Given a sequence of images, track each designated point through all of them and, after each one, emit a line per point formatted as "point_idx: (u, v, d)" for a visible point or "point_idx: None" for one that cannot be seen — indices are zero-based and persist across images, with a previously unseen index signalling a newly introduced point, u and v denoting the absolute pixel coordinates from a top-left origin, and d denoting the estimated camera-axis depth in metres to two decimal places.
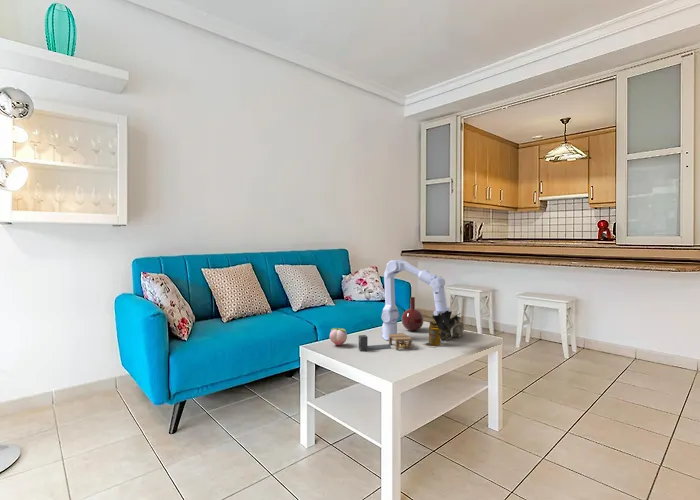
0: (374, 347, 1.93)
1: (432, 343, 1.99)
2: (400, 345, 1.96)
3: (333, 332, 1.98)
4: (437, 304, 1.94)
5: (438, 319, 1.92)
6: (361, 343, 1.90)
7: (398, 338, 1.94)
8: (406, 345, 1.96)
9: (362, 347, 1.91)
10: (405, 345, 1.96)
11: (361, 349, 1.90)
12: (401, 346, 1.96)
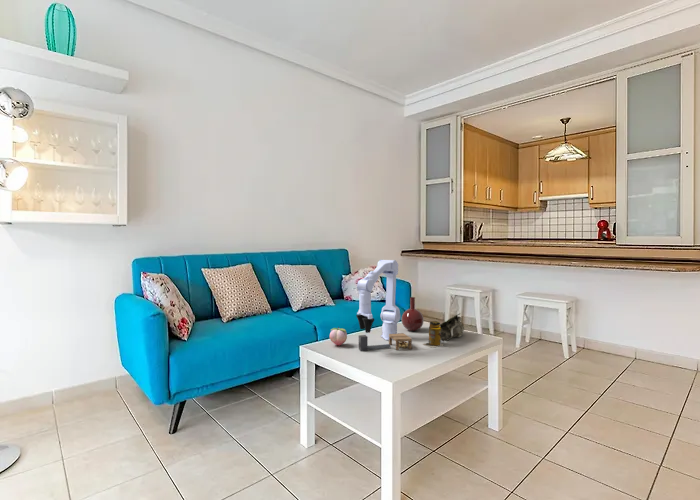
0: (374, 347, 1.93)
1: (432, 343, 1.99)
2: (400, 345, 1.96)
3: (333, 332, 1.98)
4: None
5: None
6: (361, 343, 1.90)
7: (398, 338, 1.94)
8: (406, 345, 1.96)
9: (362, 347, 1.91)
10: (405, 345, 1.96)
11: (361, 349, 1.90)
12: (401, 346, 1.96)
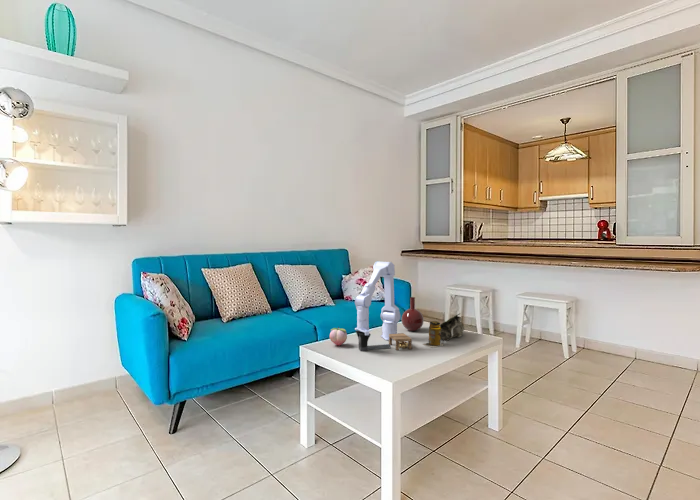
0: (374, 347, 1.93)
1: (432, 343, 1.99)
2: (400, 345, 1.96)
3: (333, 332, 1.98)
4: None
5: None
6: None
7: (398, 338, 1.94)
8: (406, 345, 1.96)
9: None
10: (405, 345, 1.96)
11: (361, 349, 1.90)
12: (401, 346, 1.96)
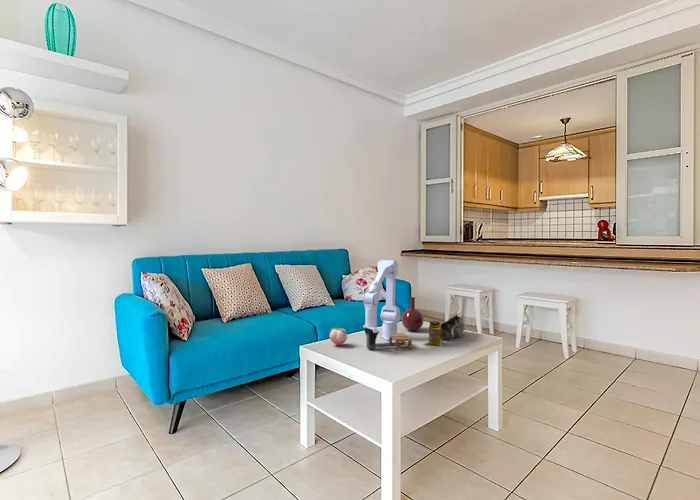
0: (382, 345, 1.95)
1: (432, 343, 1.99)
2: (400, 345, 1.96)
3: (333, 332, 1.98)
4: None
5: None
6: (369, 341, 1.91)
7: (398, 338, 1.94)
8: (406, 345, 1.96)
9: (370, 345, 1.92)
10: (405, 345, 1.96)
11: (369, 347, 1.92)
12: (401, 346, 1.96)
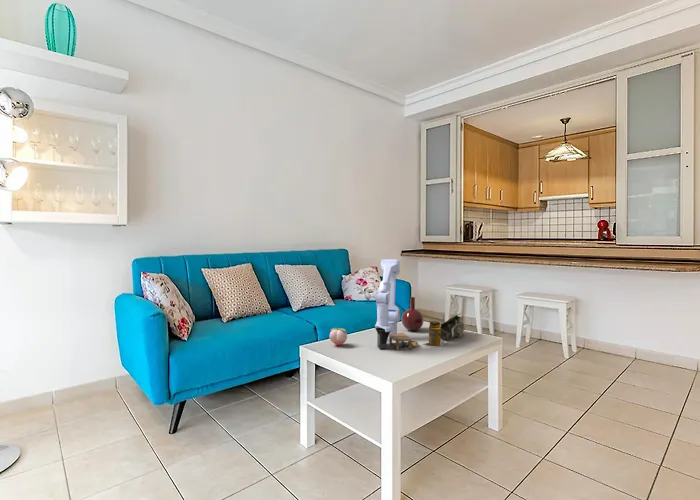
0: (393, 345, 1.96)
1: (432, 343, 1.99)
2: None
3: (333, 332, 1.98)
4: None
5: None
6: (380, 341, 1.93)
7: (398, 338, 1.94)
8: (416, 344, 1.97)
9: (381, 345, 1.93)
10: (415, 344, 1.97)
11: (380, 347, 1.93)
12: None
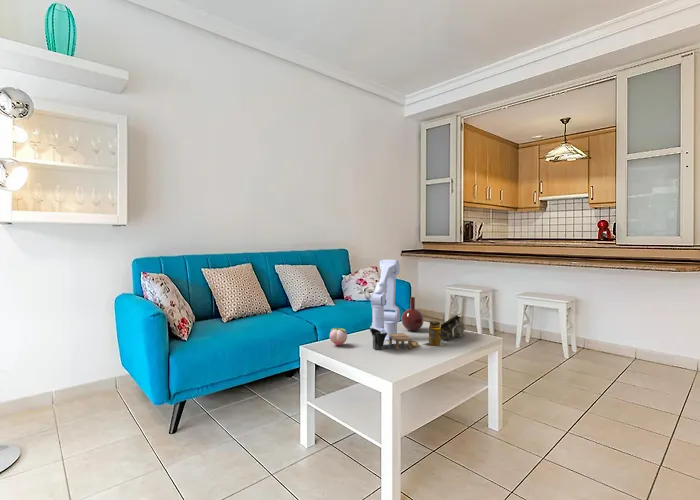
0: (388, 346, 1.95)
1: (432, 343, 1.99)
2: None
3: (333, 332, 1.98)
4: None
5: None
6: (375, 342, 1.92)
7: (398, 338, 1.94)
8: (416, 344, 1.97)
9: (376, 346, 1.92)
10: (415, 344, 1.97)
11: (375, 348, 1.92)
12: None
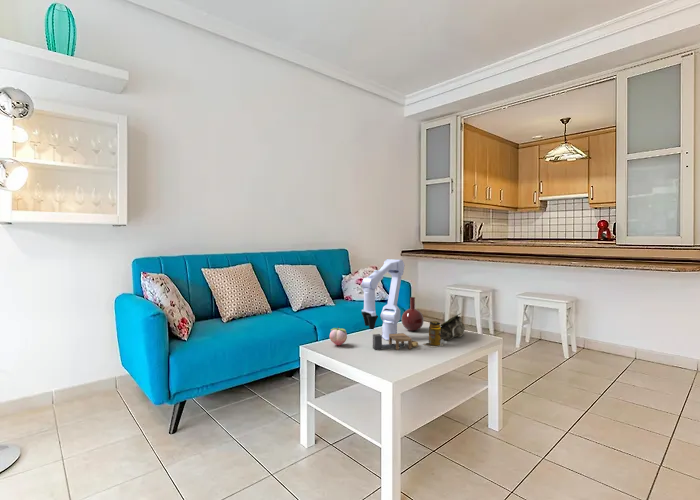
0: (388, 346, 1.95)
1: (432, 343, 1.99)
2: None
3: (333, 332, 1.98)
4: None
5: None
6: (375, 342, 1.92)
7: (398, 338, 1.94)
8: (416, 344, 1.97)
9: (376, 346, 1.92)
10: (415, 344, 1.97)
11: (375, 348, 1.92)
12: None
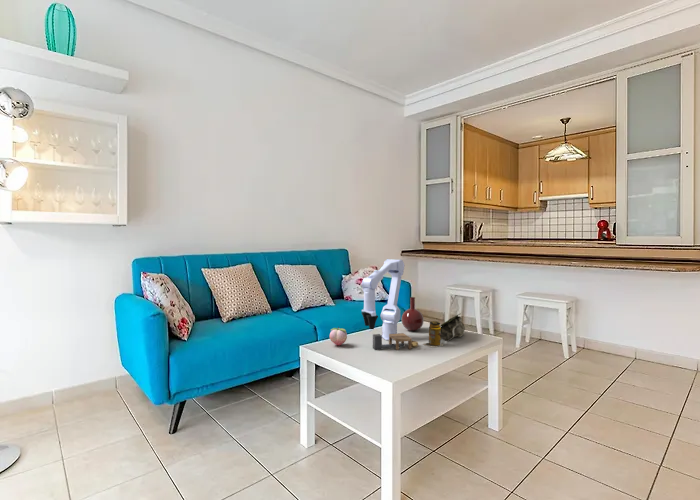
0: (388, 346, 1.95)
1: (432, 343, 1.99)
2: None
3: (333, 332, 1.98)
4: None
5: None
6: (375, 342, 1.92)
7: (398, 338, 1.94)
8: (416, 344, 1.97)
9: (376, 346, 1.92)
10: (415, 344, 1.97)
11: (375, 348, 1.92)
12: None
